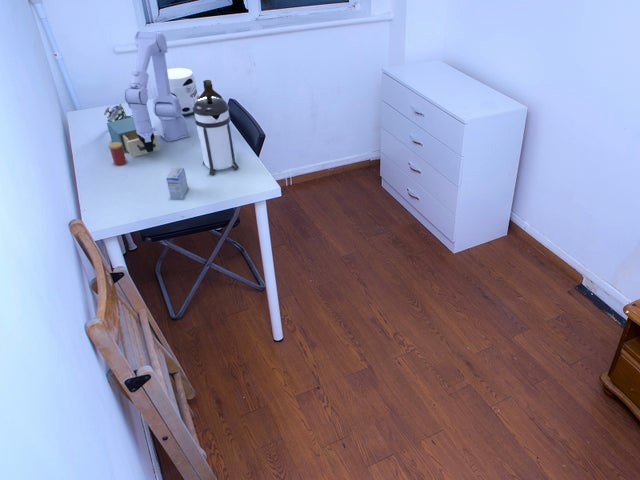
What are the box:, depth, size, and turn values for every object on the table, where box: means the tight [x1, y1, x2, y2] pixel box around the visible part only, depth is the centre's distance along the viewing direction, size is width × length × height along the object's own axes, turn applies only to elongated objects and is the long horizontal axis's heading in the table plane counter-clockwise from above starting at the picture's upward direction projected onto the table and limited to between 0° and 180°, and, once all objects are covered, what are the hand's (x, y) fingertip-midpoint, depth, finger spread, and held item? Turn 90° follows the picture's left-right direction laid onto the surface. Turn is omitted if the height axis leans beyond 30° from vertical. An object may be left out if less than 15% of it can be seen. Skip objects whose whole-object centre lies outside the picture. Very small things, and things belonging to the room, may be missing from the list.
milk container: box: [167, 67, 200, 116], centre depth 255 cm, size 17×17×18 cm
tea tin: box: [108, 142, 127, 167], centre depth 214 cm, size 5×5×8 cm
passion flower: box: [103, 103, 133, 123], centre depth 242 cm, size 11×11×12 cm
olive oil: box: [198, 79, 224, 100], centre depth 231 cm, size 11×11×25 cm
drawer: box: [121, 131, 162, 158], centre depth 223 cm, size 16×12×7 cm
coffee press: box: [193, 93, 240, 176], centre depth 209 cm, size 17×16×30 cm
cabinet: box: [106, 116, 136, 154], centre depth 229 cm, size 13×13×8 cm
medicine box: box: [166, 167, 189, 200], centre depth 197 cm, size 8×4×9 cm, turn 5°
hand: (150, 151), depth 217 cm, fingers closed
